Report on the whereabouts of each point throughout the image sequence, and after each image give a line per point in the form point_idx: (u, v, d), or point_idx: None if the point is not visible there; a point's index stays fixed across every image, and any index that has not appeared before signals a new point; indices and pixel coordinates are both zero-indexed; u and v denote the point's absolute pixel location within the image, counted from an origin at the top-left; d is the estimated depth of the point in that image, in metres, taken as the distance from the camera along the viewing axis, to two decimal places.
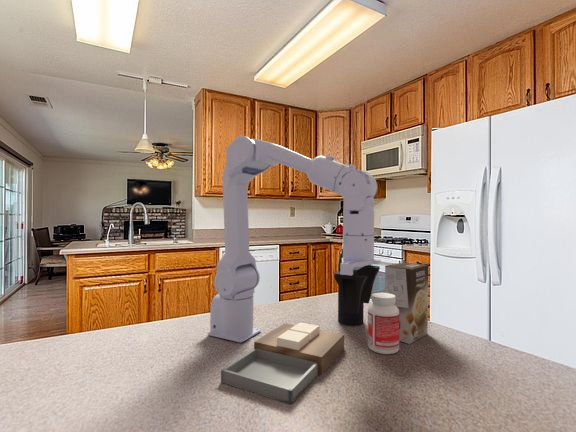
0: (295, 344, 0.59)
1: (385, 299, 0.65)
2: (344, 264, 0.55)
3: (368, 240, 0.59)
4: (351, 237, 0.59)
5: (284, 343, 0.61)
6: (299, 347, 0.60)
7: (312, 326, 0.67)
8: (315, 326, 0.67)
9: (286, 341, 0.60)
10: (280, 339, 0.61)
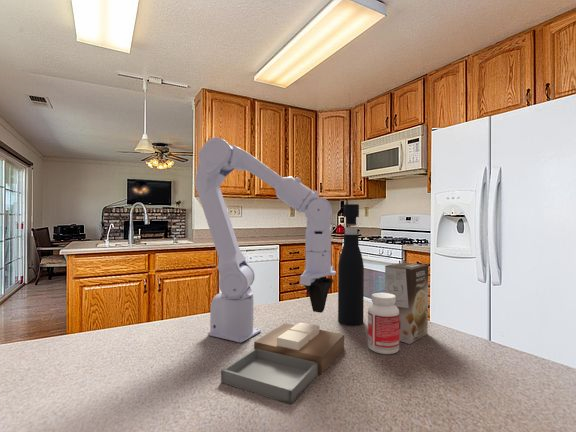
0: (295, 344, 0.59)
1: (385, 299, 0.65)
2: (303, 276, 0.67)
3: (325, 256, 0.71)
4: (311, 253, 0.71)
5: (284, 343, 0.61)
6: (299, 347, 0.60)
7: (312, 326, 0.67)
8: (315, 326, 0.67)
9: (286, 341, 0.60)
10: (280, 339, 0.61)
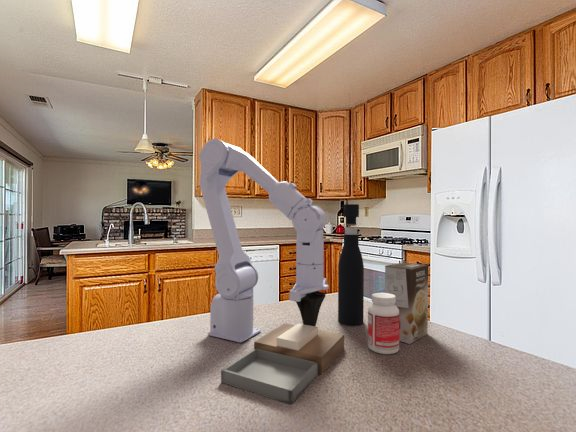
0: (295, 345, 0.59)
1: (385, 299, 0.65)
2: (293, 291, 0.63)
3: (316, 269, 0.66)
4: (302, 266, 0.66)
5: (284, 343, 0.61)
6: (299, 347, 0.59)
7: (311, 327, 0.67)
8: (314, 327, 0.67)
9: (286, 341, 0.60)
10: (280, 339, 0.61)
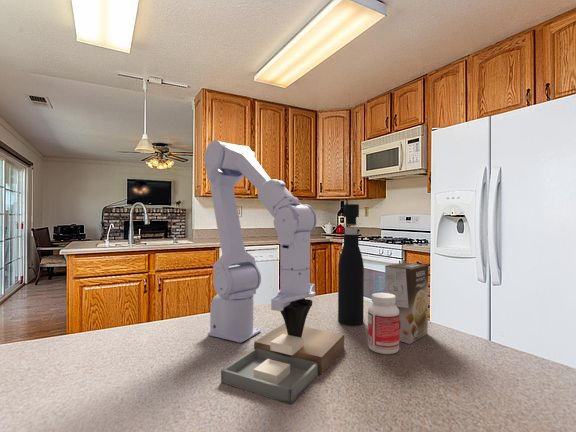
0: None
1: (385, 299, 0.65)
2: (274, 300, 0.57)
3: (302, 274, 0.60)
4: (286, 271, 0.60)
5: None
6: (289, 367, 0.56)
7: (295, 339, 0.61)
8: (299, 339, 0.61)
9: None
10: None
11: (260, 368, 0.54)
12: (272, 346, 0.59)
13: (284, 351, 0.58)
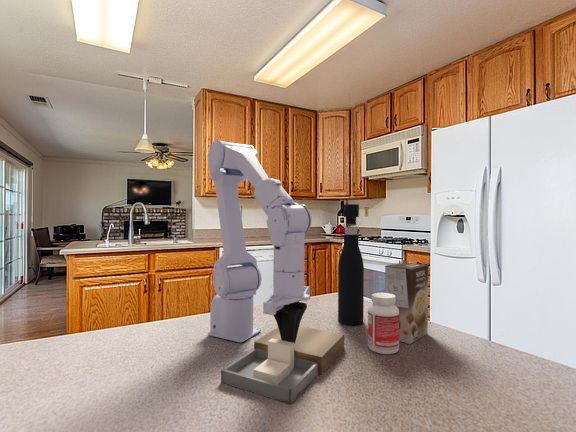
0: None
1: (385, 299, 0.65)
2: (266, 303, 0.54)
3: (295, 277, 0.58)
4: (279, 273, 0.58)
5: None
6: (288, 367, 0.56)
7: (284, 351, 0.57)
8: (287, 350, 0.57)
9: None
10: None
11: (260, 369, 0.54)
12: None
13: None
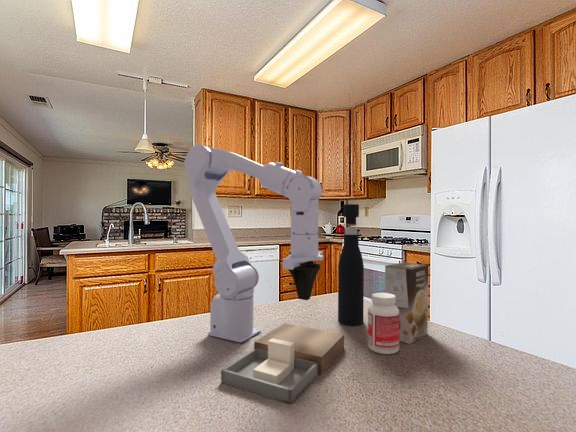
0: None
1: (385, 299, 0.65)
2: (286, 259, 0.62)
3: (311, 238, 0.66)
4: (296, 235, 0.66)
5: None
6: (288, 367, 0.56)
7: (284, 350, 0.57)
8: (287, 349, 0.57)
9: None
10: None
11: (260, 369, 0.54)
12: None
13: None
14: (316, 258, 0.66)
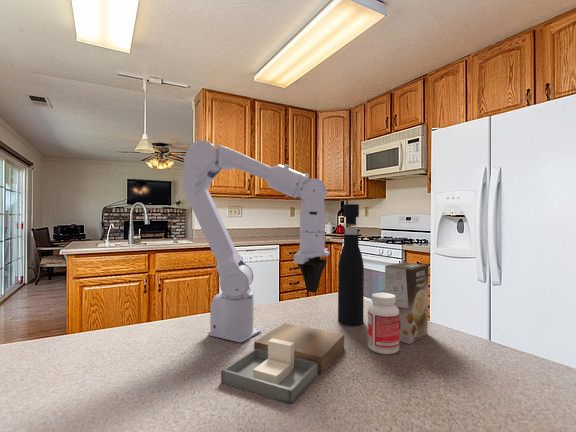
0: None
1: (385, 299, 0.65)
2: (297, 255, 0.68)
3: (318, 236, 0.72)
4: (305, 233, 0.72)
5: None
6: (288, 367, 0.56)
7: (284, 350, 0.57)
8: (287, 349, 0.57)
9: None
10: None
11: (260, 369, 0.54)
12: None
13: None
14: (323, 254, 0.72)
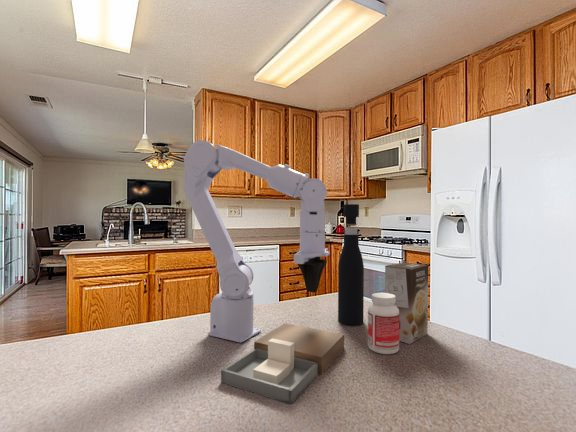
0: None
1: (385, 299, 0.65)
2: (297, 255, 0.68)
3: (318, 236, 0.72)
4: (305, 233, 0.72)
5: None
6: (288, 367, 0.56)
7: (284, 350, 0.57)
8: (287, 349, 0.57)
9: None
10: None
11: (260, 369, 0.54)
12: None
13: None
14: (323, 254, 0.72)
